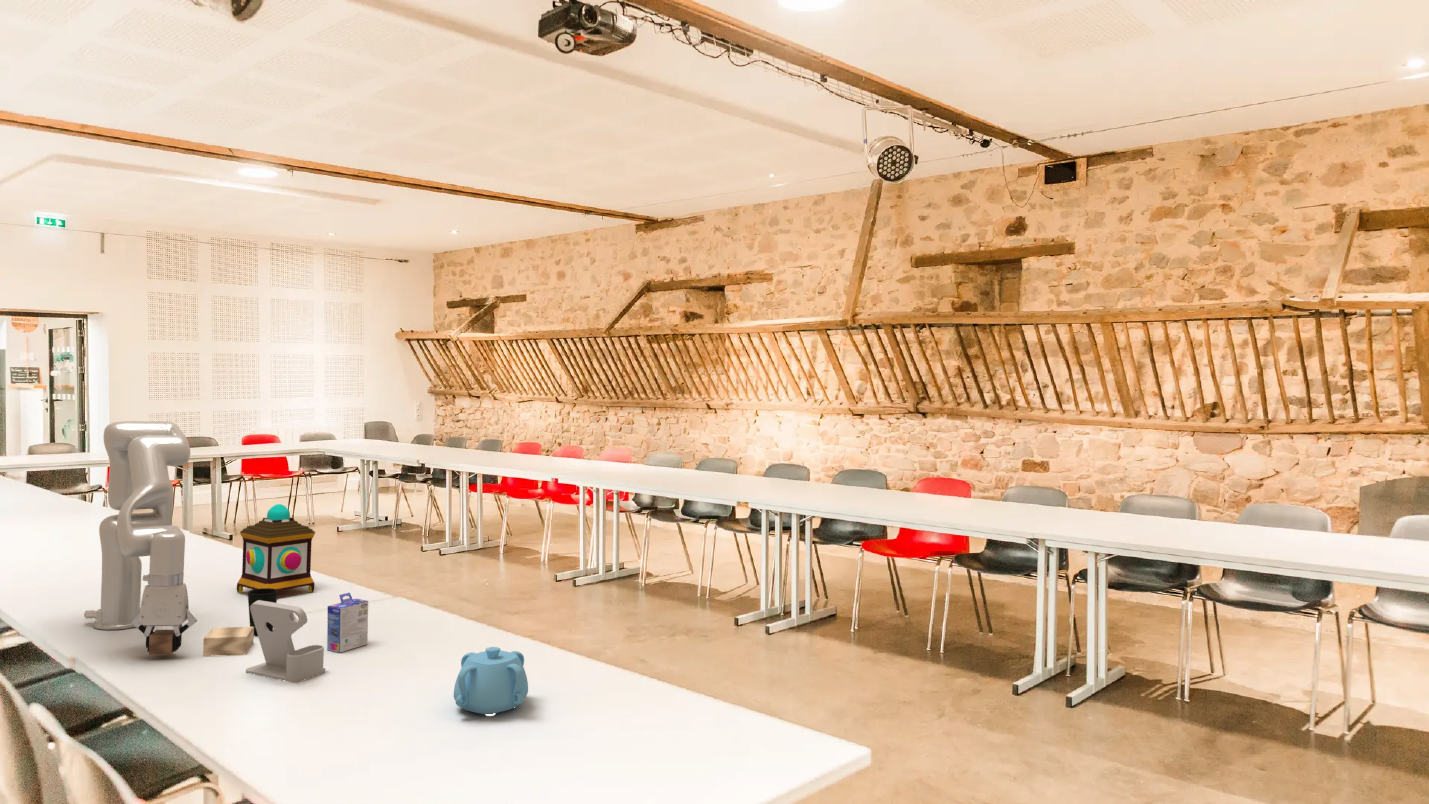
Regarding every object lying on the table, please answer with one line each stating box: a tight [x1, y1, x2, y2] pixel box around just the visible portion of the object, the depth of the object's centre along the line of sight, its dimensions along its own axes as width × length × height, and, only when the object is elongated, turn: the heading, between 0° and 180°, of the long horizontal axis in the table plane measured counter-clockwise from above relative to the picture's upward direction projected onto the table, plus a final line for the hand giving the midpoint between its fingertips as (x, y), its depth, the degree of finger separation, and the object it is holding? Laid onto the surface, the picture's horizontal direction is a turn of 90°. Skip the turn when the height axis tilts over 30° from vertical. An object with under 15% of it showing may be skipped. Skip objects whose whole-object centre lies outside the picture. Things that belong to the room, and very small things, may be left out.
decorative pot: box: [453, 646, 529, 715], centre depth 203 cm, size 16×16×14 cm
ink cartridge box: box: [326, 592, 369, 653], centre depth 243 cm, size 10×6×14 cm, turn 155°
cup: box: [247, 588, 279, 637], centre depth 252 cm, size 8×8×12 cm
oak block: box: [202, 626, 255, 657], centre depth 236 cm, size 10×10×5 cm
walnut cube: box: [148, 628, 175, 656], centre depth 228 cm, size 5×5×5 cm
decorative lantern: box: [236, 503, 316, 594], centre depth 299 cm, size 20×20×30 cm
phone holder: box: [245, 600, 326, 683], centre depth 221 cm, size 17×10×18 cm, turn 69°
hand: (163, 649), depth 228 cm, fingers closed on walnut cube, 5 cm apart
